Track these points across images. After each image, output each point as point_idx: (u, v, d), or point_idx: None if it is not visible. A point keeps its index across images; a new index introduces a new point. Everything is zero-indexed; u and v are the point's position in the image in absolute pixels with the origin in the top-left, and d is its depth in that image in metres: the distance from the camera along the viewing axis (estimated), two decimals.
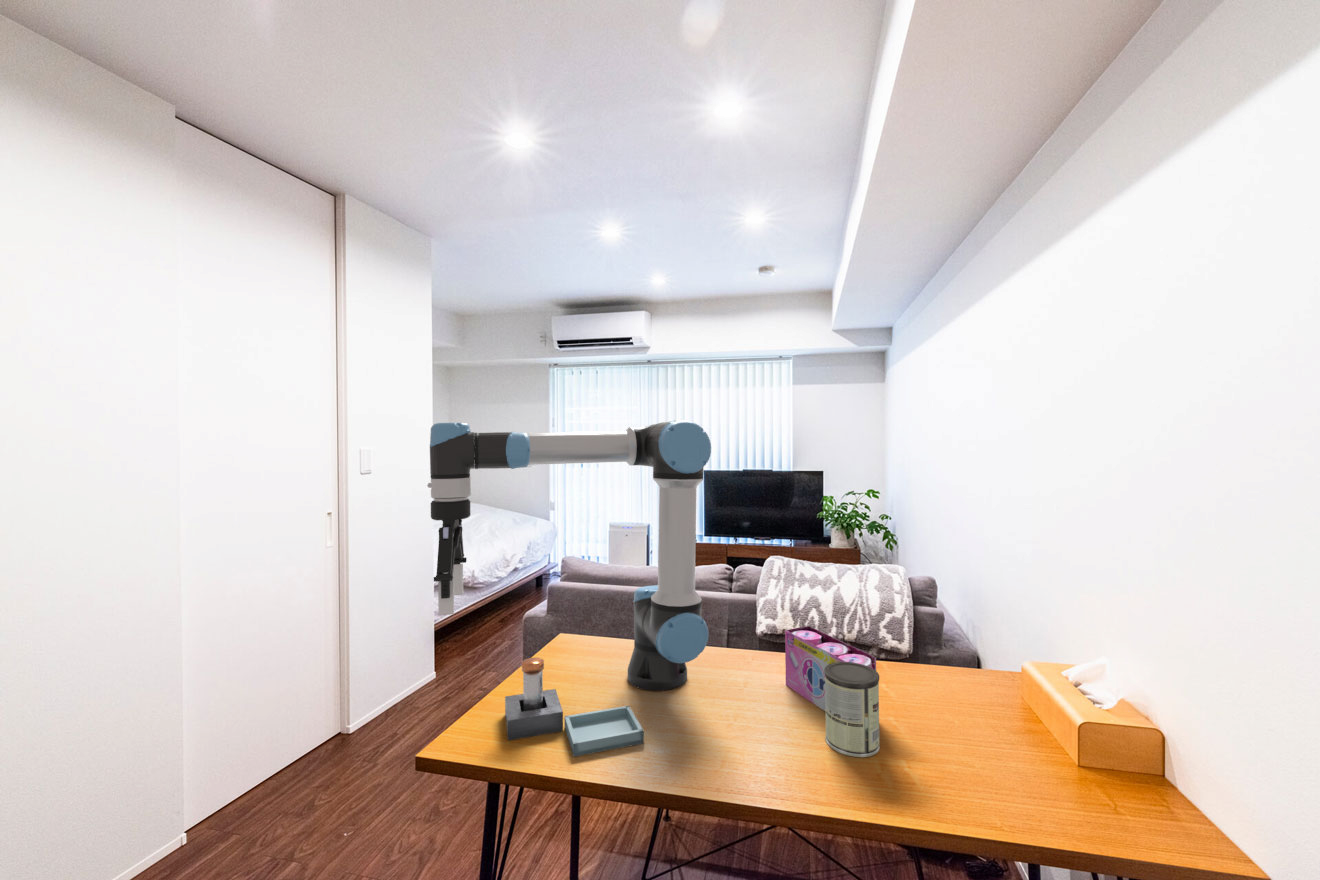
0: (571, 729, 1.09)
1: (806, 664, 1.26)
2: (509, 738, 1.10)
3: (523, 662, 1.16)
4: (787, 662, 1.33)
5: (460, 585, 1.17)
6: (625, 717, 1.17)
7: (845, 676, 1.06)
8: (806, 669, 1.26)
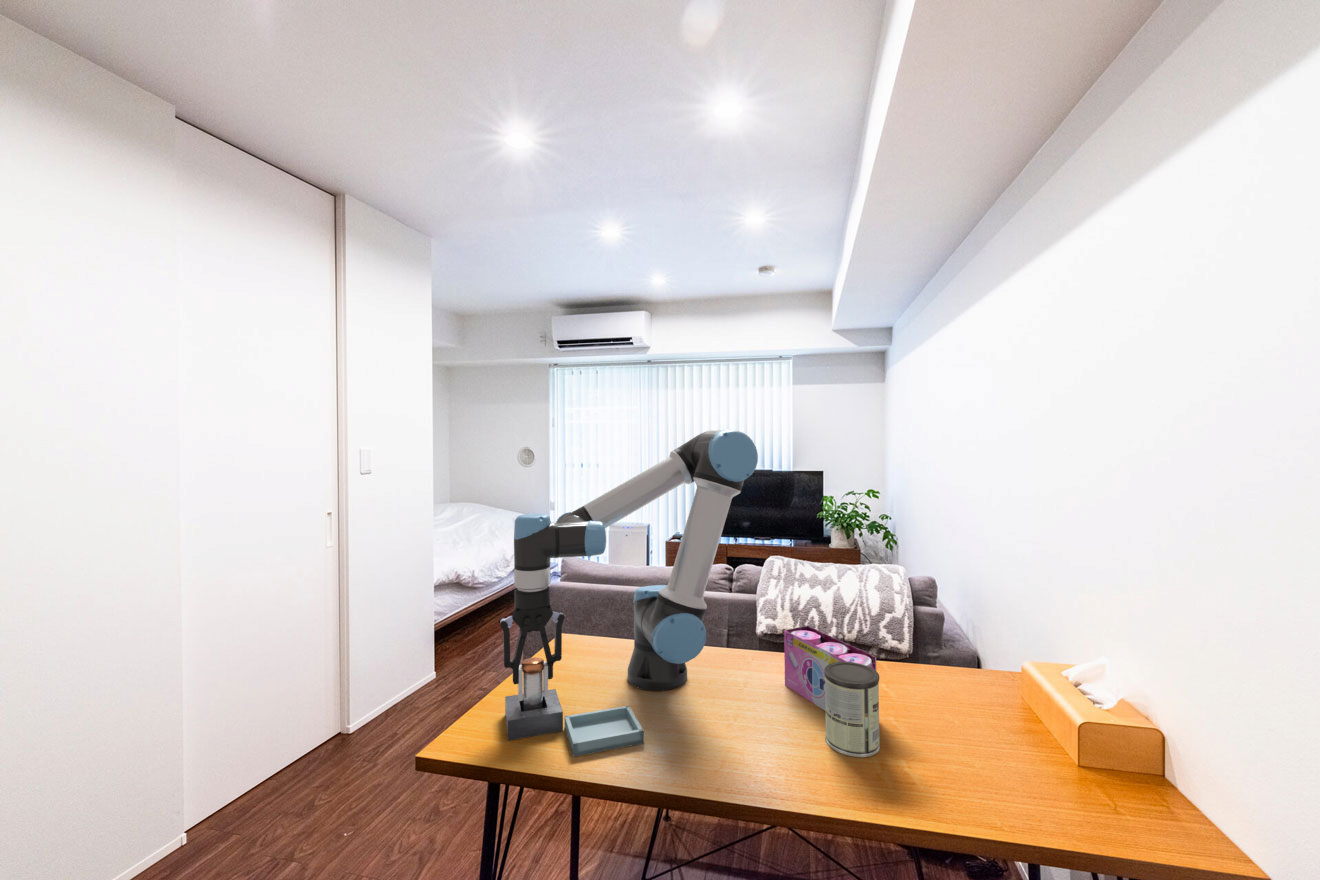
0: (571, 729, 1.09)
1: (805, 663, 1.26)
2: (509, 738, 1.10)
3: (523, 662, 1.16)
4: (786, 662, 1.33)
5: (544, 686, 1.16)
6: (625, 717, 1.17)
7: (845, 676, 1.06)
8: (806, 669, 1.26)
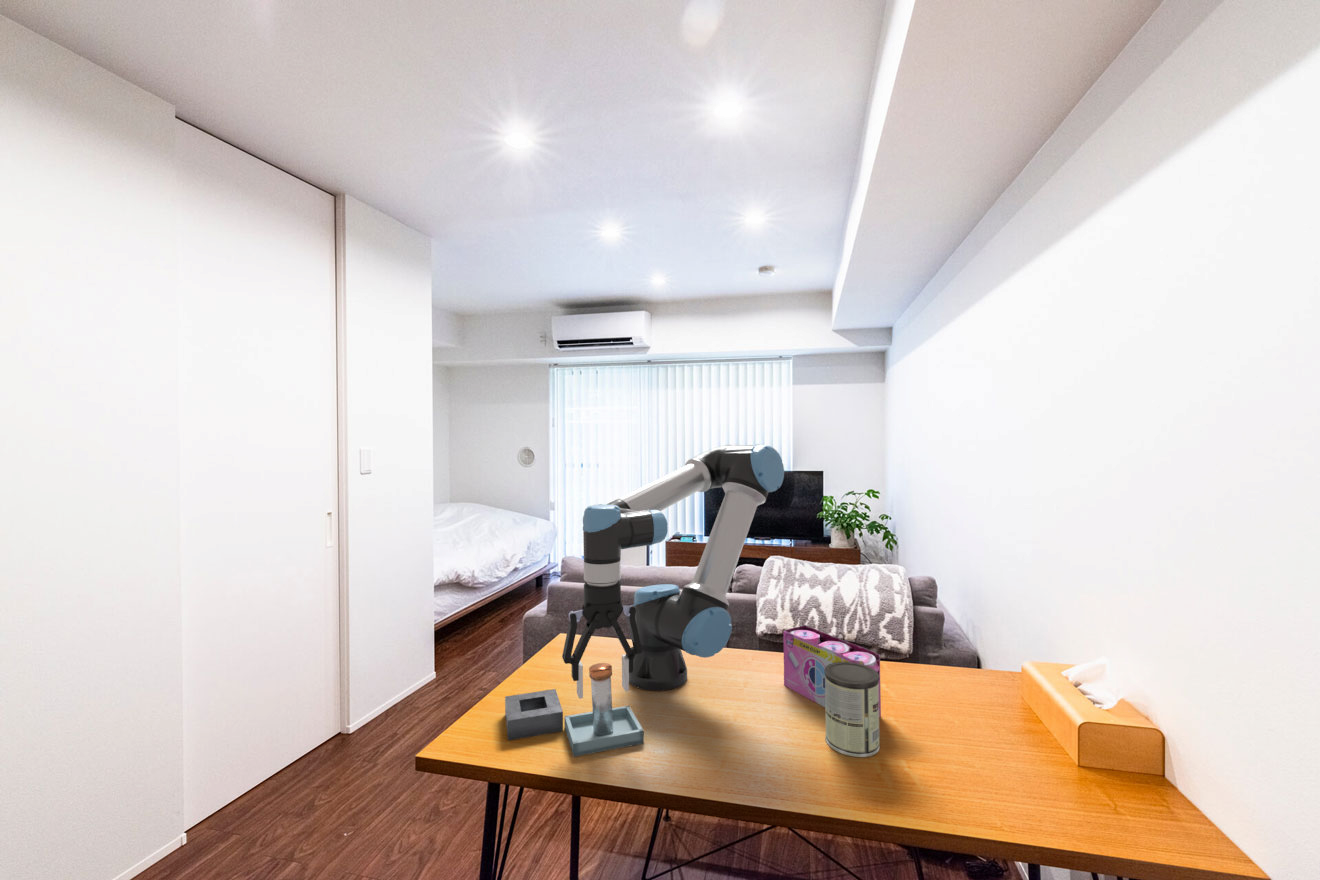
0: (571, 729, 1.09)
1: (807, 663, 1.26)
2: (509, 738, 1.10)
3: (590, 668, 1.11)
4: (786, 662, 1.33)
5: (624, 680, 1.12)
6: (625, 717, 1.17)
7: (845, 676, 1.06)
8: (808, 669, 1.26)
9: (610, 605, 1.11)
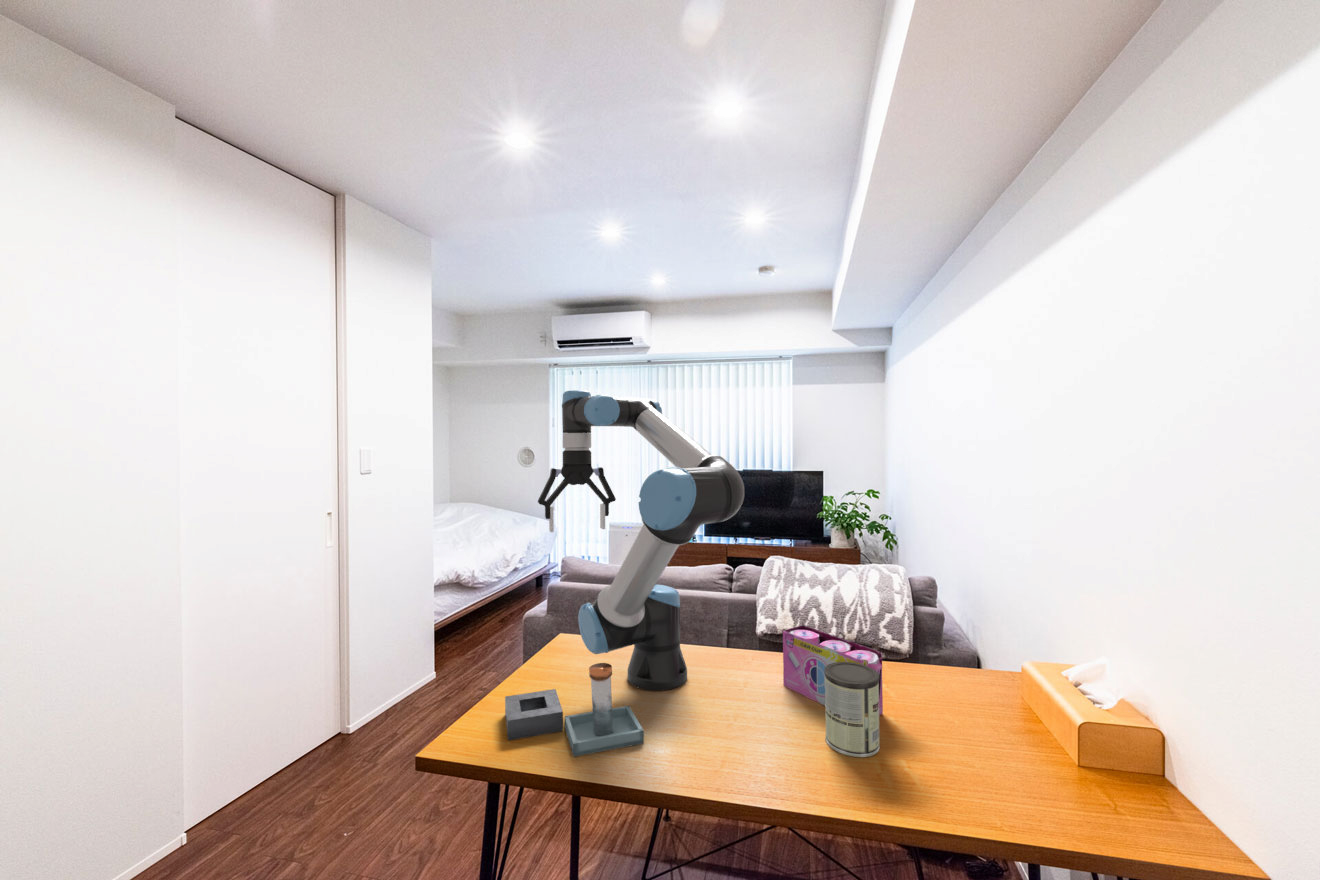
0: (571, 729, 1.09)
1: (809, 663, 1.26)
2: (509, 738, 1.10)
3: (590, 668, 1.11)
4: (785, 662, 1.33)
5: (602, 521, 1.45)
6: (625, 717, 1.17)
7: (845, 676, 1.06)
8: (809, 668, 1.26)
9: (582, 469, 1.43)
